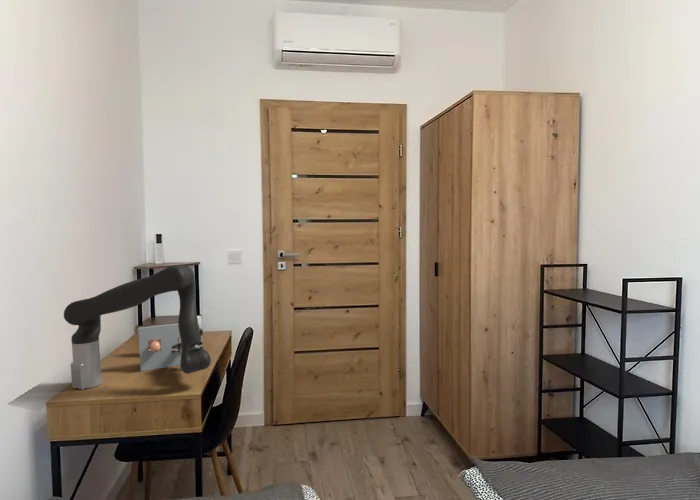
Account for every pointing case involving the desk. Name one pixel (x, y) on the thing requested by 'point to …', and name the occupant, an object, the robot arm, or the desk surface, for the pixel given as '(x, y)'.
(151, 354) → the panel
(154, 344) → the terracotta button
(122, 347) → the desk surface
